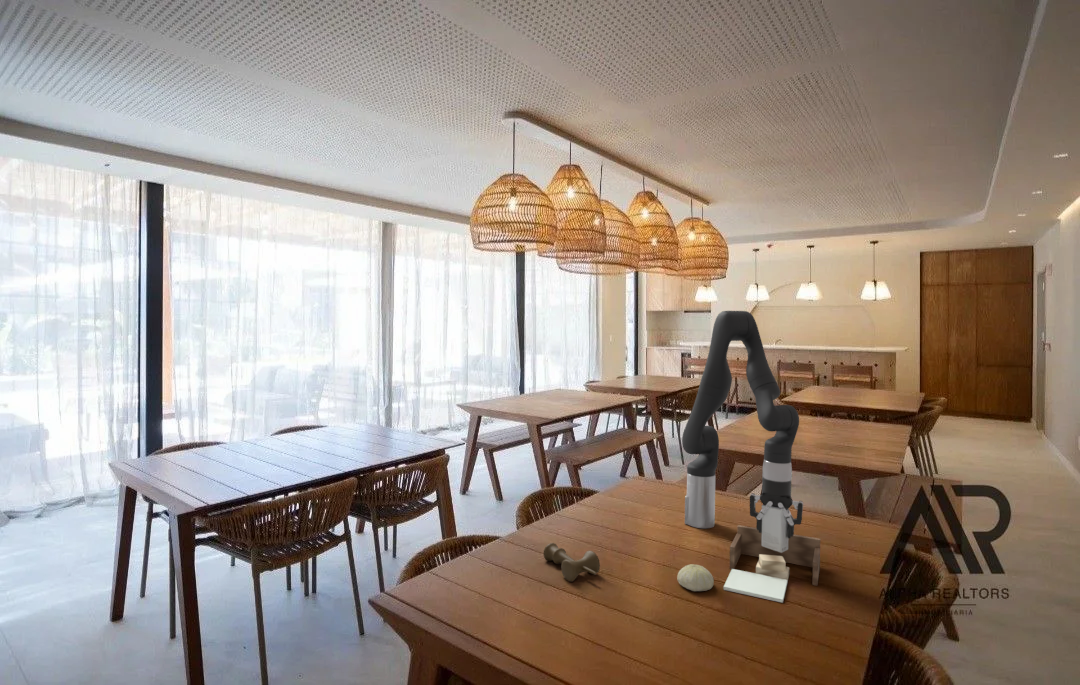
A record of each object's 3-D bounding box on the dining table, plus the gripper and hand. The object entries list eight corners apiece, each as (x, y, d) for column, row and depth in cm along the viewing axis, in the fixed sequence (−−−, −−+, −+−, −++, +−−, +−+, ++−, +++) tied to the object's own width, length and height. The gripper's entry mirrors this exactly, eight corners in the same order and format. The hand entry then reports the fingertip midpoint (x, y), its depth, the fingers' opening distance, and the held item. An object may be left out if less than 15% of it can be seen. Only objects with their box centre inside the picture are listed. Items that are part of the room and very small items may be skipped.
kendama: (562, 556, 166) (610, 579, 150) (536, 566, 160) (582, 591, 144) (562, 536, 166) (609, 557, 150) (535, 545, 160) (581, 567, 144)
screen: (729, 568, 158) (730, 539, 157) (737, 551, 169) (738, 525, 169) (817, 585, 147) (818, 555, 147) (819, 567, 159) (820, 538, 158)
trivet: (723, 589, 145) (723, 586, 145) (731, 571, 155) (732, 568, 155) (782, 602, 138) (782, 599, 138) (787, 582, 149) (787, 579, 149)
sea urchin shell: (714, 571, 151) (714, 559, 145) (713, 602, 146) (713, 590, 140) (679, 567, 154) (677, 554, 148) (677, 596, 149) (675, 584, 143)
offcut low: (755, 575, 154) (755, 566, 154) (757, 570, 158) (758, 561, 158) (787, 582, 150) (787, 573, 150) (789, 576, 154) (789, 567, 154)
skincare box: (788, 549, 158) (790, 507, 158) (780, 553, 155) (782, 510, 155) (768, 542, 163) (769, 501, 162) (759, 546, 160) (761, 504, 160)
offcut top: (761, 569, 152) (761, 560, 152) (758, 563, 156) (759, 554, 156) (785, 571, 151) (785, 562, 151) (782, 565, 155) (782, 556, 155)
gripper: (747, 476, 158) (745, 534, 159) (804, 484, 151) (802, 544, 152) (751, 469, 165) (749, 525, 166) (806, 476, 158) (803, 535, 159)
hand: (774, 534), depth 159 cm, fingers closed on skincare box, 7 cm apart
